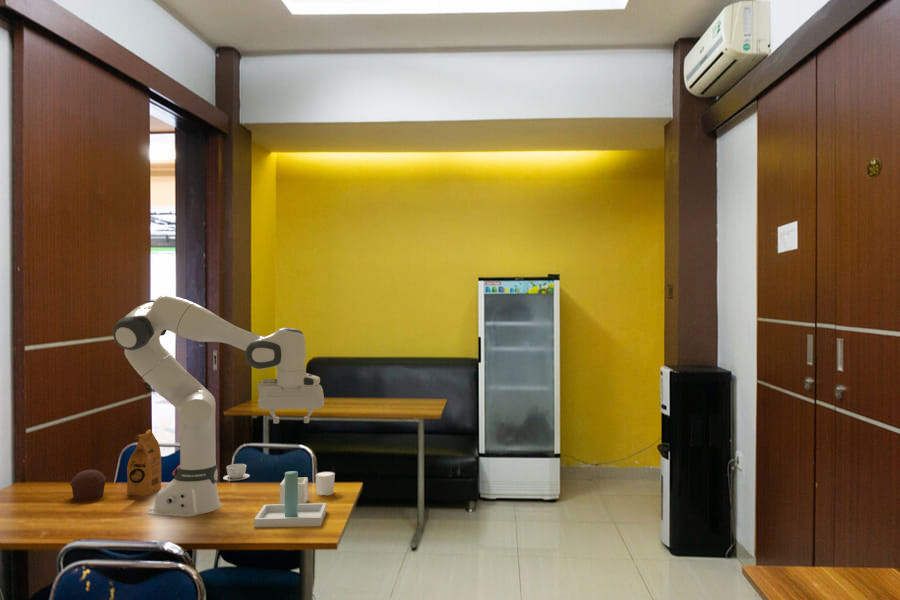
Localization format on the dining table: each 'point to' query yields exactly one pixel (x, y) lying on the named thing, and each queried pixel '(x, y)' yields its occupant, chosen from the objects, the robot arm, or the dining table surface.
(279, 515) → the tray
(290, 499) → the dowel
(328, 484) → the tan cylinder
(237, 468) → the teacup
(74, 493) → the muffin
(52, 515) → the dining table surface
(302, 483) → the deep box
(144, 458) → the coffee package
